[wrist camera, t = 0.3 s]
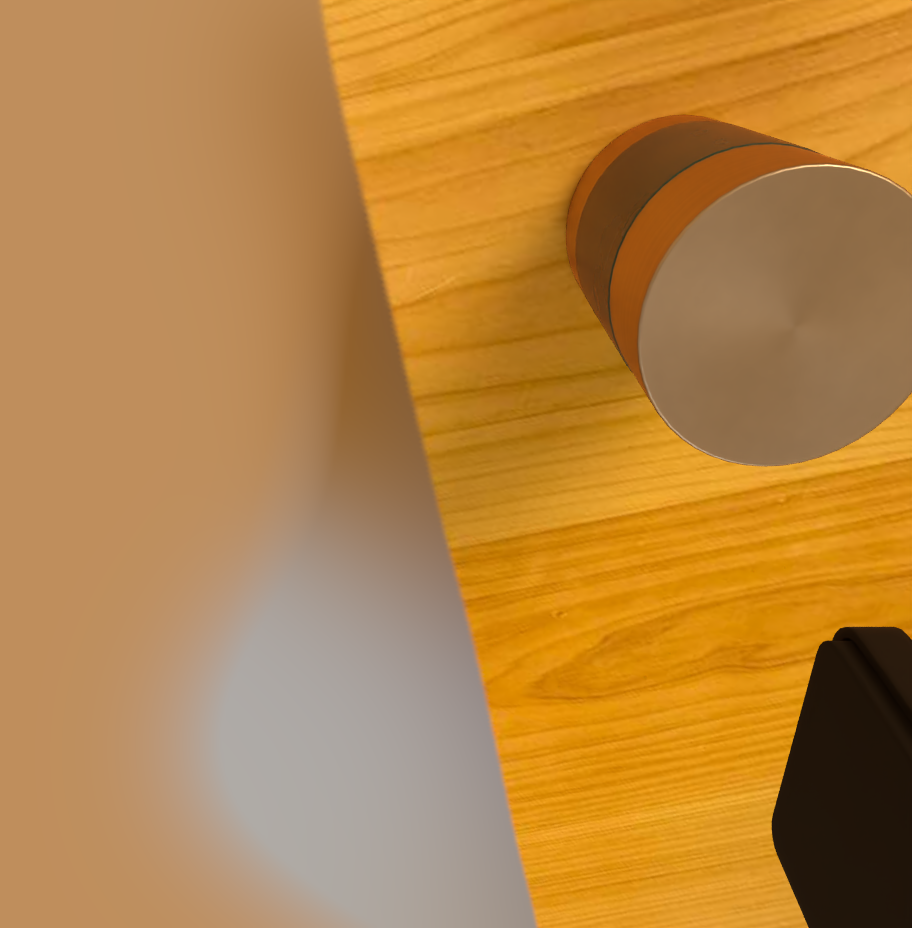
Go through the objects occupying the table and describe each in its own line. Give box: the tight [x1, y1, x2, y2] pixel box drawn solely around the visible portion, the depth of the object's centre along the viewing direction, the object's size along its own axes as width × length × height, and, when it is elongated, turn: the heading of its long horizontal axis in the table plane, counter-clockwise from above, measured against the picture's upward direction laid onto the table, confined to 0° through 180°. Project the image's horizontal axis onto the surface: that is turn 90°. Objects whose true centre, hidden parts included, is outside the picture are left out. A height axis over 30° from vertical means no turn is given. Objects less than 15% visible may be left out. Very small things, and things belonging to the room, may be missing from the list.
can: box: [566, 115, 912, 466], centre depth 23 cm, size 7×7×10 cm
